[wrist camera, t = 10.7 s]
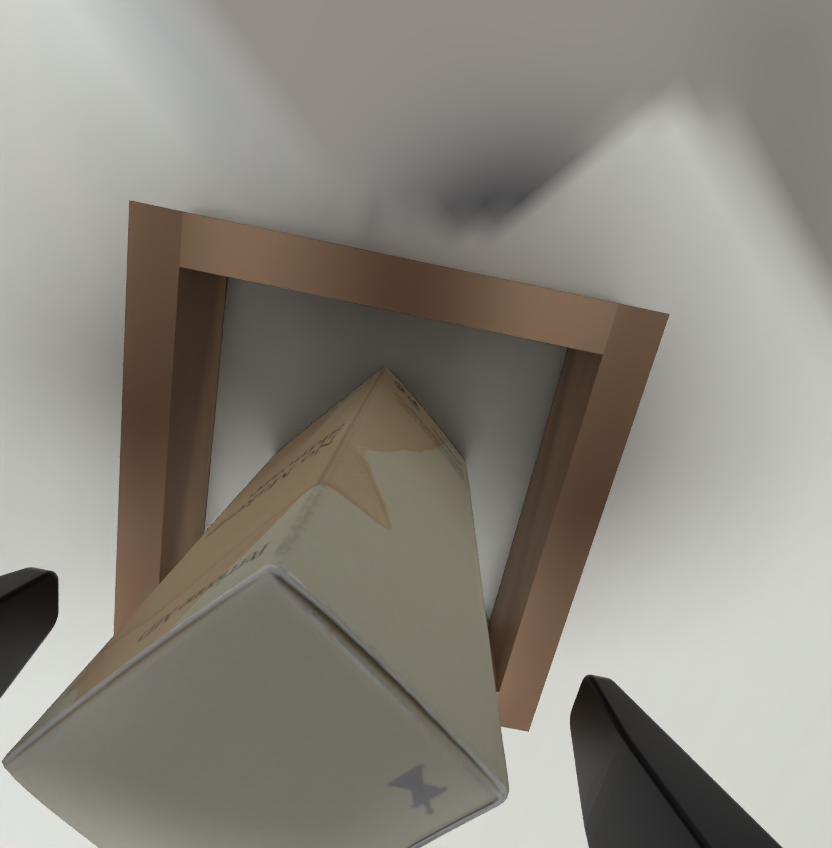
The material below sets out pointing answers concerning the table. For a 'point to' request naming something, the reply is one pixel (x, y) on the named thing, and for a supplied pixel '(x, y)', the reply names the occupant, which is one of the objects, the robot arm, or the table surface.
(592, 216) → the table surface
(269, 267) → the brown square frame
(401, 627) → the box
